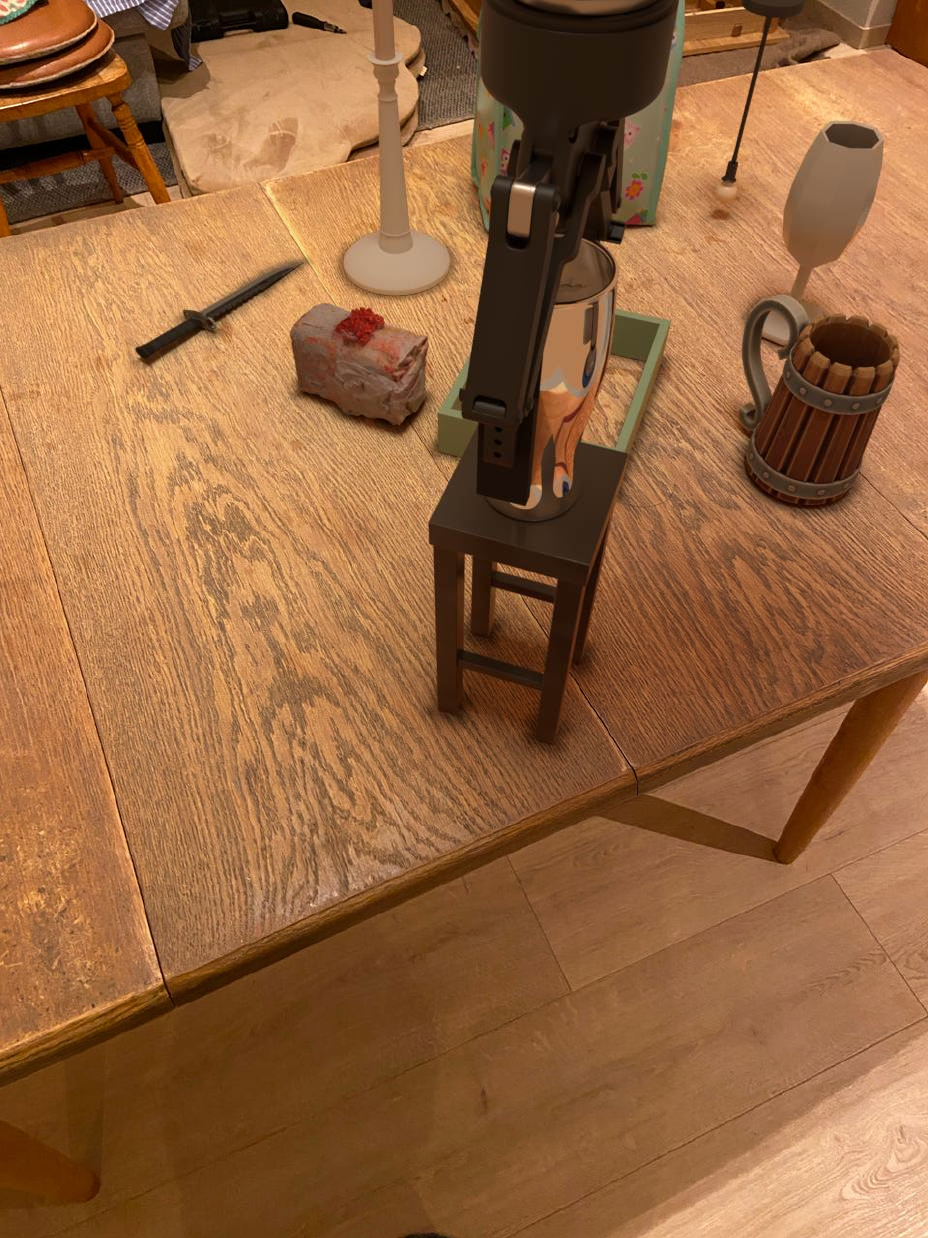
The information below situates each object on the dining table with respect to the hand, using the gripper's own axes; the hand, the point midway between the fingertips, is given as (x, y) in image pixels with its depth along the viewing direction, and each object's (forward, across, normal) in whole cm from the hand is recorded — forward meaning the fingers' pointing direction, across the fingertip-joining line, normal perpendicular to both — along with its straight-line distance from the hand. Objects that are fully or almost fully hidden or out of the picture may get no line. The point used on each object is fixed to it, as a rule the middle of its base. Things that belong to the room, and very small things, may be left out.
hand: (539, 415), depth 51 cm
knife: (+28, -37, -46) cm, 65 cm away
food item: (+28, -28, -25) cm, 47 cm away
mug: (+28, -34, +17) cm, 47 cm away
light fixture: (+28, -76, +4) cm, 81 cm away
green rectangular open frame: (+28, -34, -6) cm, 44 cm away
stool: (+28, 0, 0) cm, 28 cm away
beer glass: (+6, 0, 0) cm, 6 cm away
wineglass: (+28, -56, +15) cm, 64 cm away
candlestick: (+28, -52, -31) cm, 67 cm away
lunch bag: (+28, -72, -16) cm, 79 cm away
